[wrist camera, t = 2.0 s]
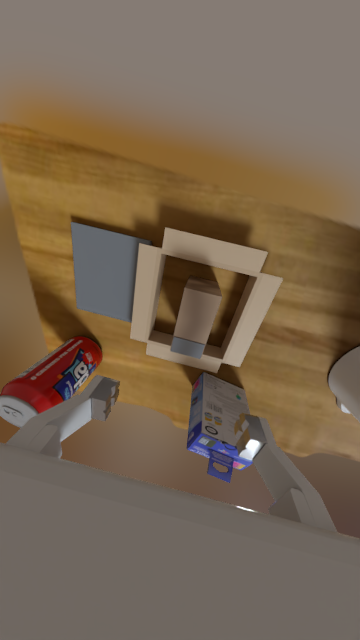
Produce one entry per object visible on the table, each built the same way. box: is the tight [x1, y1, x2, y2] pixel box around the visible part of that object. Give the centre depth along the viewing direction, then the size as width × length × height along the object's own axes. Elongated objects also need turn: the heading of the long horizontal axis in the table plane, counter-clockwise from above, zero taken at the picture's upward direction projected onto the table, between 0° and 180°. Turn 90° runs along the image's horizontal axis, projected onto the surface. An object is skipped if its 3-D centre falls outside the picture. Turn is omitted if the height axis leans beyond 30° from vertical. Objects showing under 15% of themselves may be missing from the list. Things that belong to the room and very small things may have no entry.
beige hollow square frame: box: [130, 227, 283, 373], centre depth 26 cm, size 19×20×4 cm
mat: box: [71, 222, 152, 323], centre depth 27 cm, size 12×14×1 cm
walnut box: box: [170, 275, 222, 359], centre depth 24 cm, size 4×9×8 cm, turn 168°
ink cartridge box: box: [187, 372, 253, 483], centre depth 29 cm, size 10×6×14 cm, turn 67°
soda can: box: [0, 336, 102, 428], centre depth 29 cm, size 8×8×15 cm
